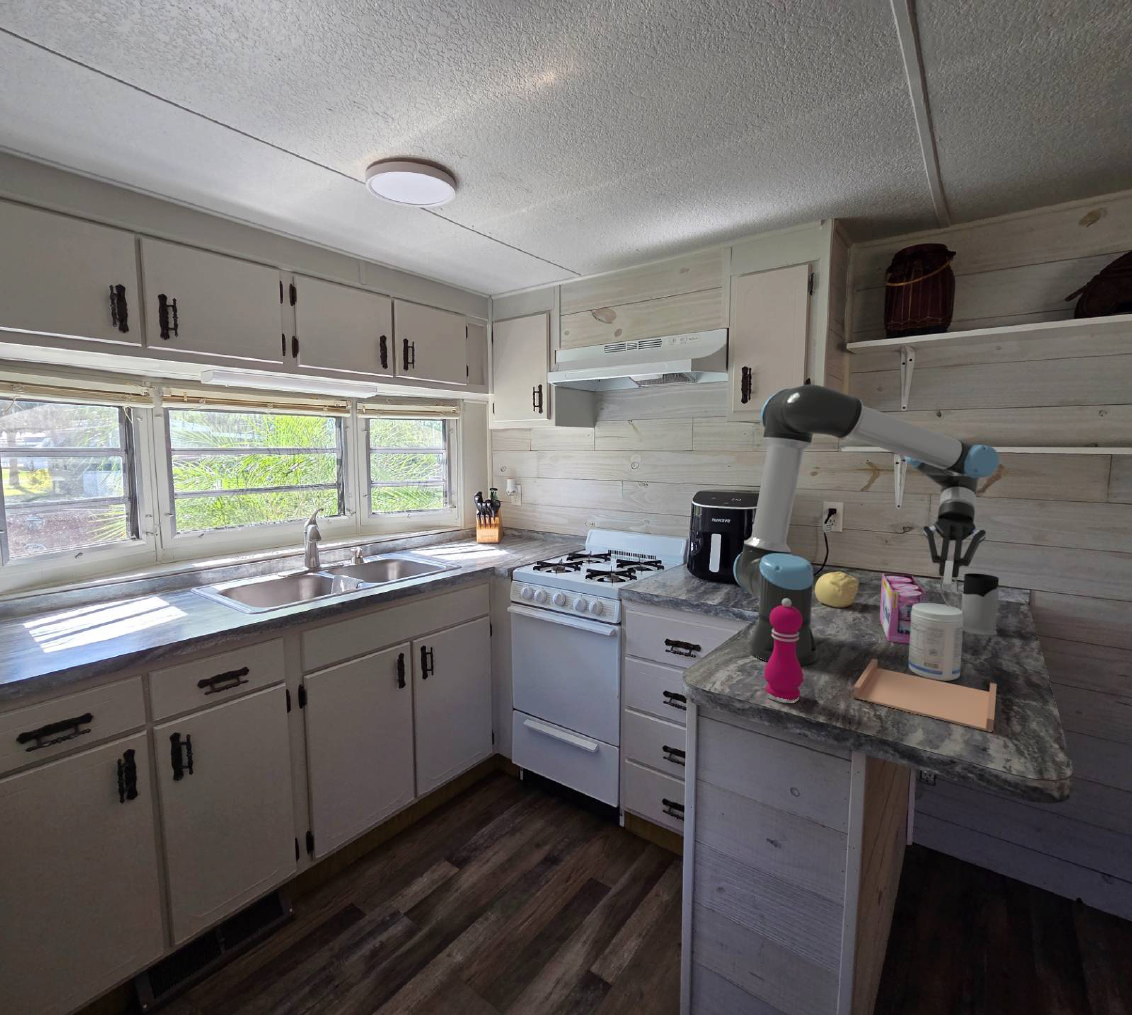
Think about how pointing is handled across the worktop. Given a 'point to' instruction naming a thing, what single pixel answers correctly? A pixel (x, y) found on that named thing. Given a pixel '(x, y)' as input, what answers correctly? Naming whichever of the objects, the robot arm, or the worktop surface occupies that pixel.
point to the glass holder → (978, 603)
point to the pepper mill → (784, 653)
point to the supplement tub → (936, 641)
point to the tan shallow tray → (927, 697)
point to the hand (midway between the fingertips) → (946, 586)
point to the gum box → (899, 605)
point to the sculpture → (836, 589)
